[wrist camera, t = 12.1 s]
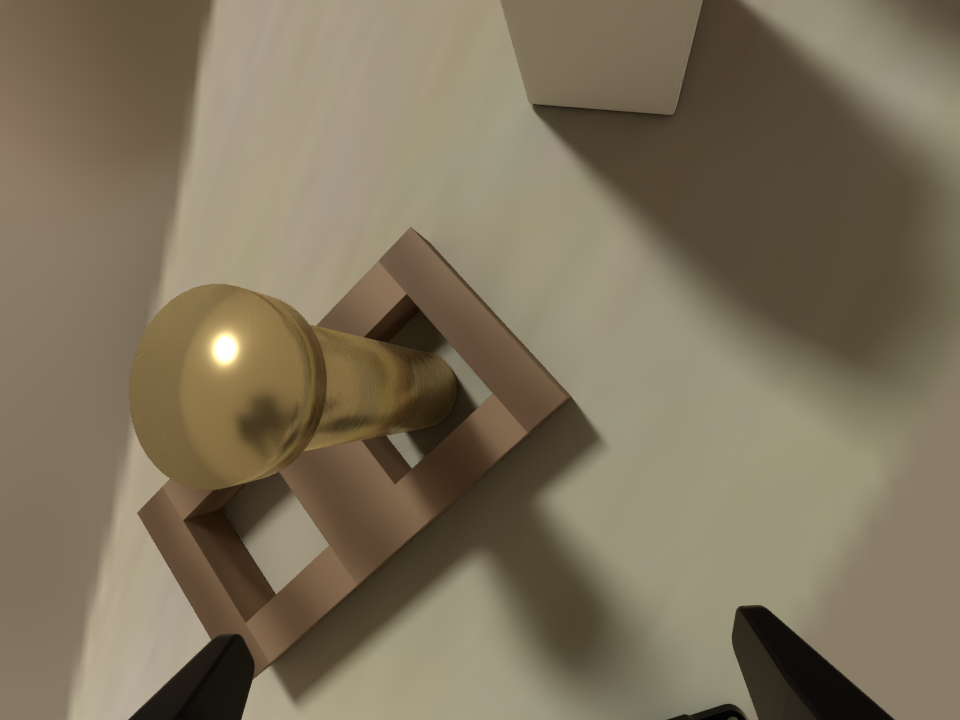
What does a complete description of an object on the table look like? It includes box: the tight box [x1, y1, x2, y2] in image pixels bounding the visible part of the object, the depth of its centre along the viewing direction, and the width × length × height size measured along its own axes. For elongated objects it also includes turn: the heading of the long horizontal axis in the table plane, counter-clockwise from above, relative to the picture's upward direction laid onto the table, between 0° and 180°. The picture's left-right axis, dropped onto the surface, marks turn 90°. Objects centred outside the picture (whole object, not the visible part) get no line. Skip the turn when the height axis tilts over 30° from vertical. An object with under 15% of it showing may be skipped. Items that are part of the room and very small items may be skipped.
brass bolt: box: [129, 284, 457, 490], centre depth 18 cm, size 5×5×14 cm
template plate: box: [138, 227, 571, 679], centre depth 24 cm, size 22×11×2 cm, turn 132°
